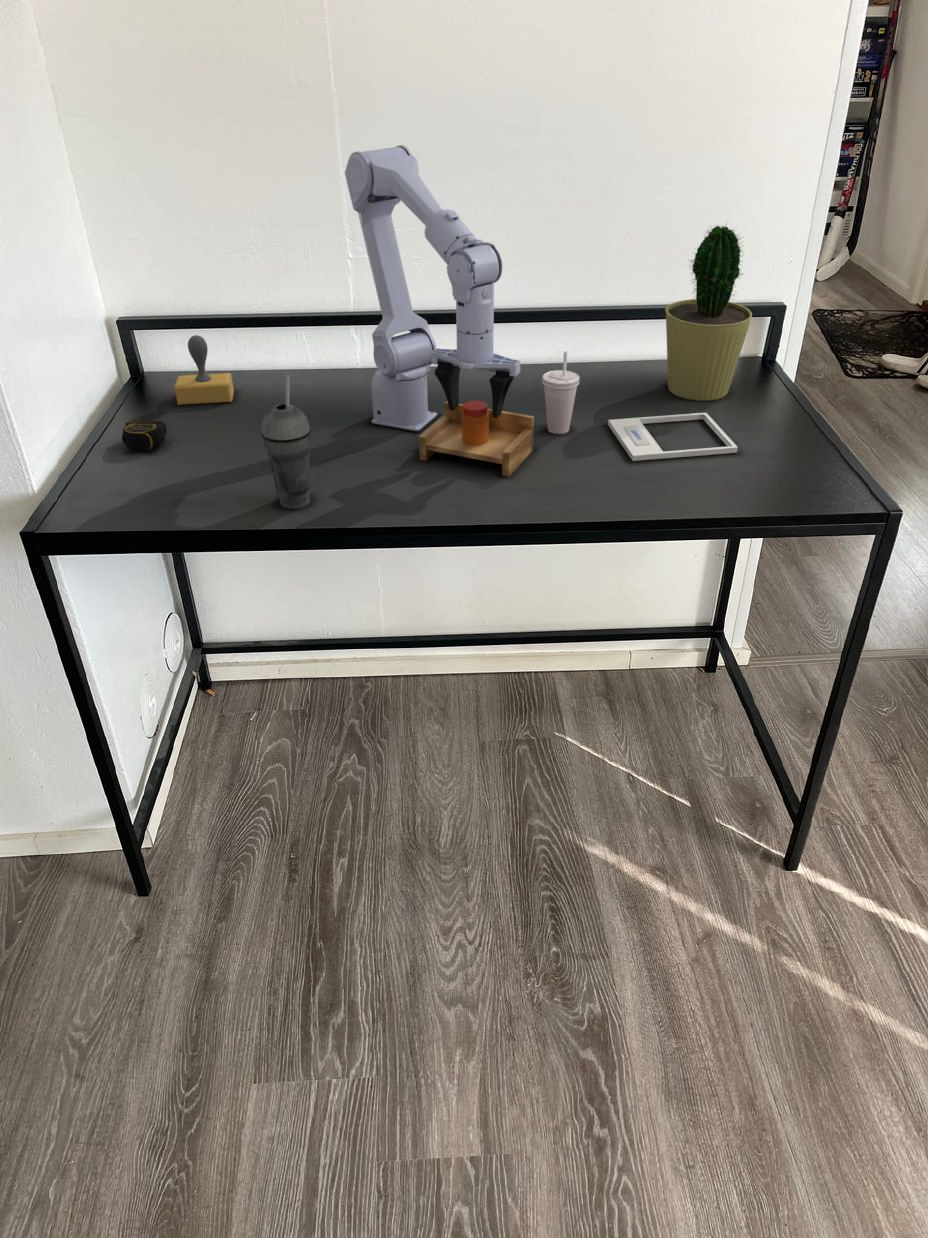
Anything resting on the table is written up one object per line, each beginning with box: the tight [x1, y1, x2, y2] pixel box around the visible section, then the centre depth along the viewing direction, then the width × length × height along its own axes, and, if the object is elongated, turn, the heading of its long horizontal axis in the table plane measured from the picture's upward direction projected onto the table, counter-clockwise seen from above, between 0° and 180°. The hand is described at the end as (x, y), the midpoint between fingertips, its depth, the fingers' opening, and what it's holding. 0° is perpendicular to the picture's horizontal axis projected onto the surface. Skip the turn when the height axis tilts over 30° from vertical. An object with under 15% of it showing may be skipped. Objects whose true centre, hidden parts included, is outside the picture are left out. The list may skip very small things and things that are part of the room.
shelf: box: [418, 400, 535, 478], centre depth 156 cm, size 16×11×6 cm, turn 65°
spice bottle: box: [462, 400, 489, 445], centre depth 154 cm, size 4×4×6 cm
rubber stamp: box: [174, 334, 235, 406], centre depth 176 cm, size 10×6×12 cm, turn 97°
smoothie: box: [541, 350, 580, 435], centre depth 162 cm, size 6×6×14 cm
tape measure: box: [121, 420, 168, 451], centre depth 161 cm, size 7×7×4 cm
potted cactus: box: [664, 221, 753, 401], centre depth 172 cm, size 15×15×30 cm
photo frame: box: [607, 412, 739, 462], centre depth 162 cm, size 15×1×18 cm
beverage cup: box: [260, 375, 312, 510], centre depth 140 cm, size 7×7×20 cm
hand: (475, 411), depth 153 cm, fingers open, 7 cm apart
